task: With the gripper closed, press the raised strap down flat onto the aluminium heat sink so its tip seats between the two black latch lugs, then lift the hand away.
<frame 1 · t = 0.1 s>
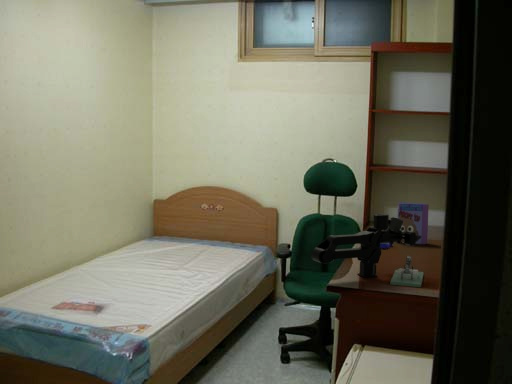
hand: (413, 235, 244), 17 cm above the table, tool horizontal, fingers open, 9 cm apart
cable clip: (386, 247, 308), on the table
heat sink: (407, 272, 229), on the circuit board, point 3 cm above the table
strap: (408, 264, 228), point 6 cm above the table, hinge at 22.0°
cereal box: (411, 243, 324), on the table
circuit board: (407, 279, 229), on the table
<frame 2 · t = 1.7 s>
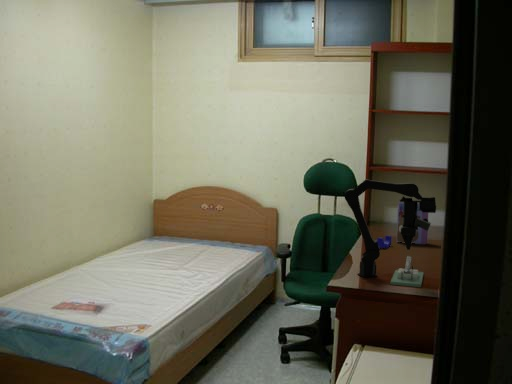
hand: (409, 248, 231), 13 cm above the table, tool pointing down, fingers open, 6 cm apart
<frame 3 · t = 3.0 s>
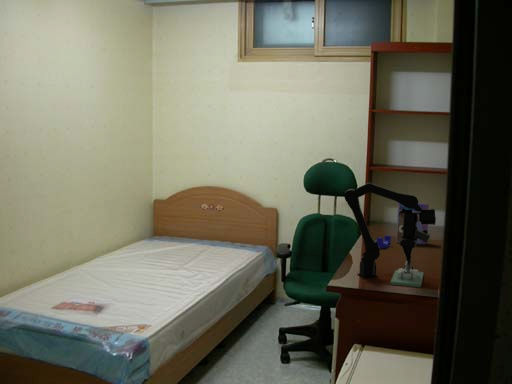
hand: (408, 259, 231), 8 cm above the table, tool pointing down, fingers closed
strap: (408, 264, 228), point 6 cm above the table, hinge at 22.0°, touching gripper
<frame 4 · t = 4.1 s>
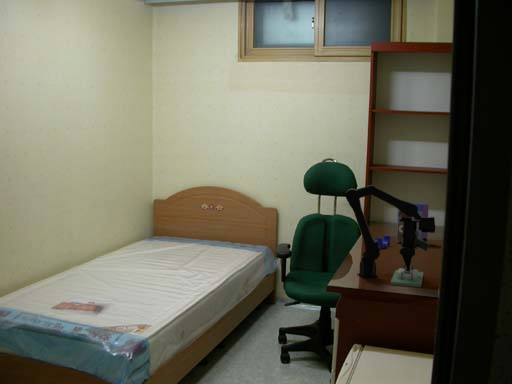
hand: (408, 267, 231), 5 cm above the table, tool pointing down, fingers closed, pressing on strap
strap: (407, 269, 229), point 4 cm above the table, hinge at 0.2°, touching gripper
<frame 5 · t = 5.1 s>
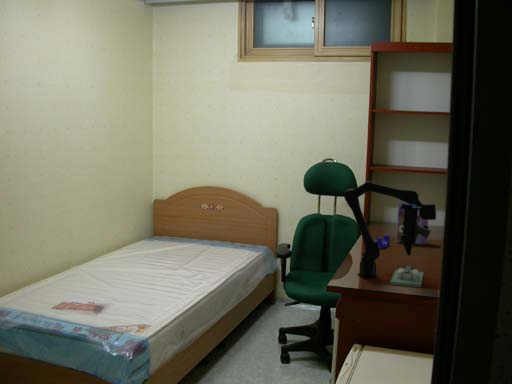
hand: (409, 255, 231), 10 cm above the table, tool pointing down, fingers closed
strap: (407, 269, 229), point 4 cm above the table, hinge at 0.1°
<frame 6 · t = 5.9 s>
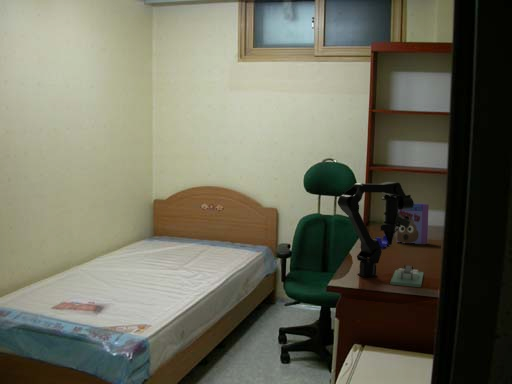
hand: (390, 244, 240), 13 cm above the table, tool pointing down, fingers closed
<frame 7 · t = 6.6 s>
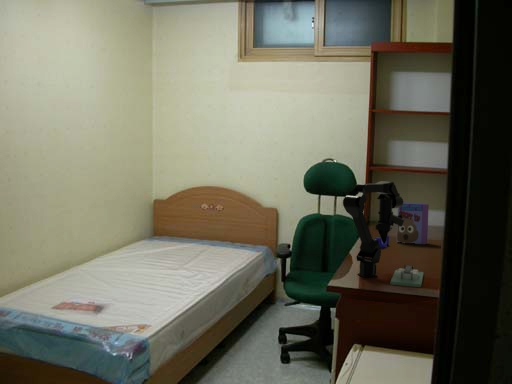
hand: (384, 243, 243), 13 cm above the table, tool pointing down, fingers closed
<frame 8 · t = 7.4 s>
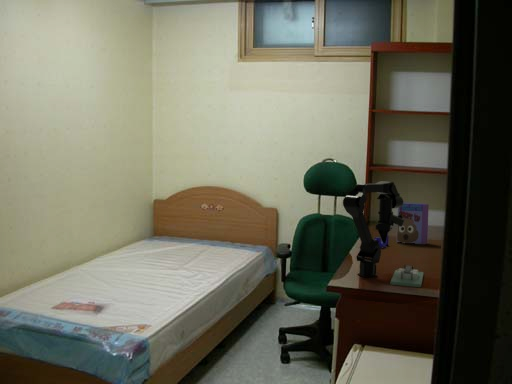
hand: (384, 243, 243), 13 cm above the table, tool pointing down, fingers closed
at the end: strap at +0° (first picture: +22°); the gripper is holding nothing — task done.
